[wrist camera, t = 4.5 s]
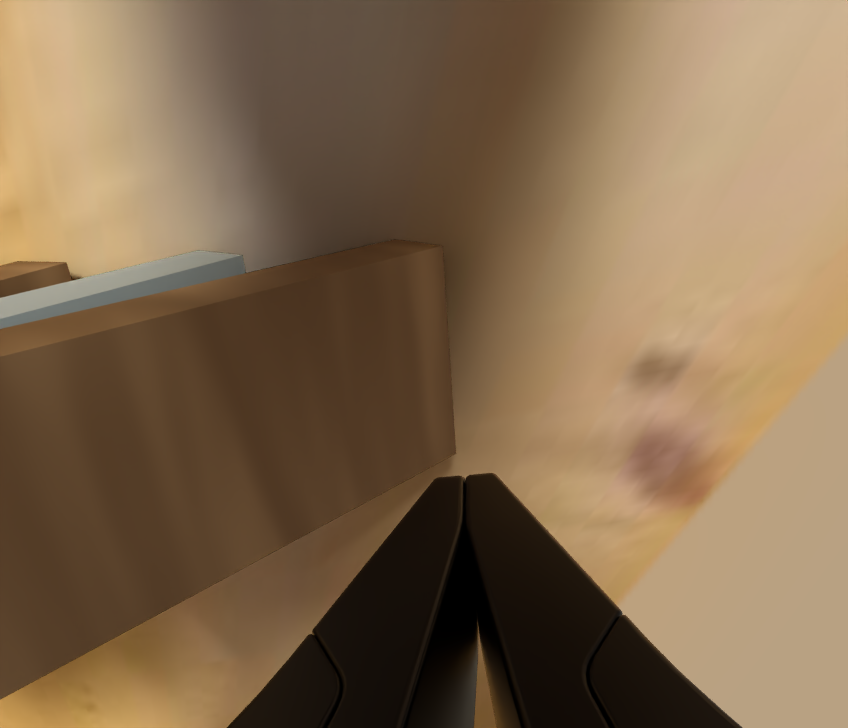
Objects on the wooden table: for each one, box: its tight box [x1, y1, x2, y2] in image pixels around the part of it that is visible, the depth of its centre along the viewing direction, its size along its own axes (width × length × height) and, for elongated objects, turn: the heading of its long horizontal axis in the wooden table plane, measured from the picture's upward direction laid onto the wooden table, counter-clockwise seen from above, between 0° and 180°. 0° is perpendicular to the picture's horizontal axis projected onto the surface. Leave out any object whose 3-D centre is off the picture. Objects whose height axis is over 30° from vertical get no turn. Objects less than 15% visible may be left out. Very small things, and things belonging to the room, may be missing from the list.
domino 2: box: [0, 239, 456, 699], centre depth 11 cm, size 2×5×10 cm
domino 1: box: [0, 250, 246, 329], centre depth 11 cm, size 2×5×10 cm
